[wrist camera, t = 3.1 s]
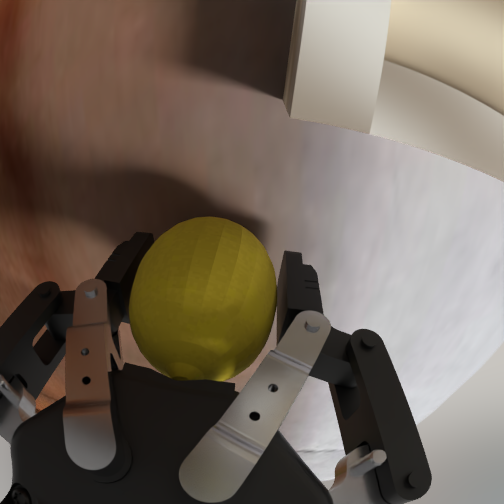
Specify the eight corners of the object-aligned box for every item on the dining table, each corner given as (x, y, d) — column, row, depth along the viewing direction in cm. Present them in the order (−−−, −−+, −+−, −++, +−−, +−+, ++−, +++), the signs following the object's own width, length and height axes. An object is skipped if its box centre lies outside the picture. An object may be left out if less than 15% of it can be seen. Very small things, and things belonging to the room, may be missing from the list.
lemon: (148, 208, 14) (64, 332, 7) (255, 171, 12) (232, 307, 6) (195, 290, 17) (159, 419, 10) (290, 269, 15) (295, 414, 9)
